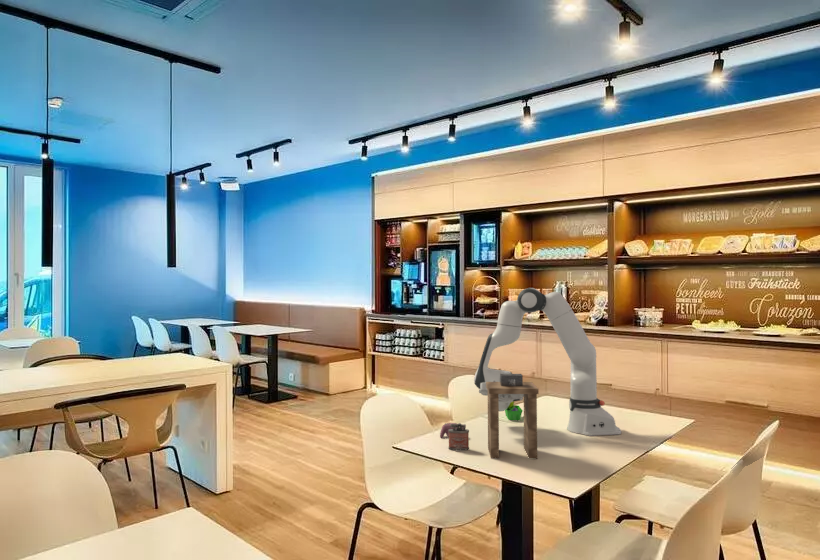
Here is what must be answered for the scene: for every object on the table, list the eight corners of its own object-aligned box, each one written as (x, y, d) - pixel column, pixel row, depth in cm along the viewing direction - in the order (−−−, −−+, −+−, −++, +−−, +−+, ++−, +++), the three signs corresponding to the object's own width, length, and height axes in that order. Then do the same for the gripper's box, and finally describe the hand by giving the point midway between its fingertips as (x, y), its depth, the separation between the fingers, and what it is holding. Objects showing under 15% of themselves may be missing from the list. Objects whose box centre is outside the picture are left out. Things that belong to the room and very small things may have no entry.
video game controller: (464, 441, 228) (465, 424, 231) (461, 439, 225) (463, 422, 228) (441, 439, 232) (443, 423, 235) (438, 437, 228) (440, 420, 231)
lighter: (469, 448, 214) (468, 422, 214) (469, 450, 210) (468, 424, 210) (448, 447, 214) (448, 422, 215) (448, 450, 211) (448, 424, 211)
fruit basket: (523, 421, 256) (523, 397, 256) (504, 421, 256) (504, 397, 256) (518, 415, 267) (518, 392, 267) (500, 415, 267) (500, 392, 267)
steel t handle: (516, 378, 222) (516, 368, 222) (522, 386, 204) (522, 375, 204) (496, 378, 223) (496, 368, 223) (501, 386, 205) (501, 375, 205)
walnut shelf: (532, 448, 213) (532, 382, 213) (539, 459, 199) (538, 388, 199) (486, 447, 214) (486, 381, 214) (489, 459, 200) (489, 388, 200)
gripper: (478, 386, 240) (479, 375, 228) (524, 386, 239) (529, 375, 227) (478, 400, 237) (480, 389, 225) (526, 400, 236) (530, 389, 224)
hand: (505, 382), depth 226 cm, fingers open, 8 cm apart
